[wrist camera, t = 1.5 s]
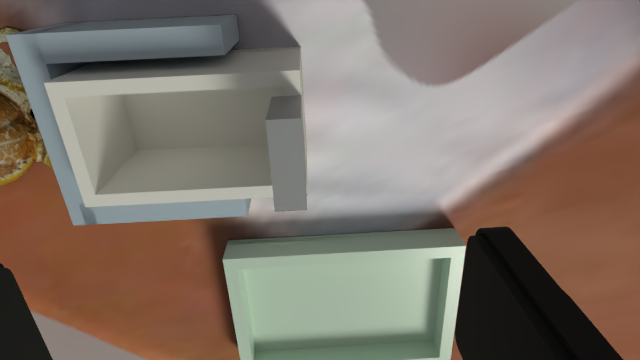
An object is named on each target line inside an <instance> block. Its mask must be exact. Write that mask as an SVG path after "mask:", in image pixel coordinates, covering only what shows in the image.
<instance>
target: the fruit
mask: <svg viewBox="0 0 640 360" xmlns="http://www.w3.org/2000/svg"><path fill="white" fill-rule="evenodd" d="M17 32H20V31H18V30H17V29H12V28H6V27H5V28H2V29H0V43H1V42H8V40H7V38H6V35H8V34H13V33H17ZM8 44H9V43H8ZM31 109H32V108H31V105H30V102H29V99H28V96H27V94H26V91H25V88H24V85H23V82H22V80H21V77H20V74H19V71H18V68H17V67H15V66H14V65H13V63H12V62H11V60H10V55H6V54H5V53H4V52H3V51H2V49H1V48H0V186H2V185H5V184H8V183H10V182H13V181H15V180H16V179H18V178H19V177H21V176H22V175H23V174H24V173H25V172H26V171H28V170H29V169H30V168H31V166H32V165H33V164H34V162H38V161H39V162H43V163H44V164H45V165H46V166H48V167H50V168H51V169H52V170H53V171H54V169H53V167H52V164H51V161H50V158H49V155H48V153H47V150H46V147H45V144H44V141H43V139H42V136H41V133H40V130H39V127H38V124H37V122H36V121H35V120H34V119H33V118H32V116H31V115H30V110H31Z"/></svg>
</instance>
